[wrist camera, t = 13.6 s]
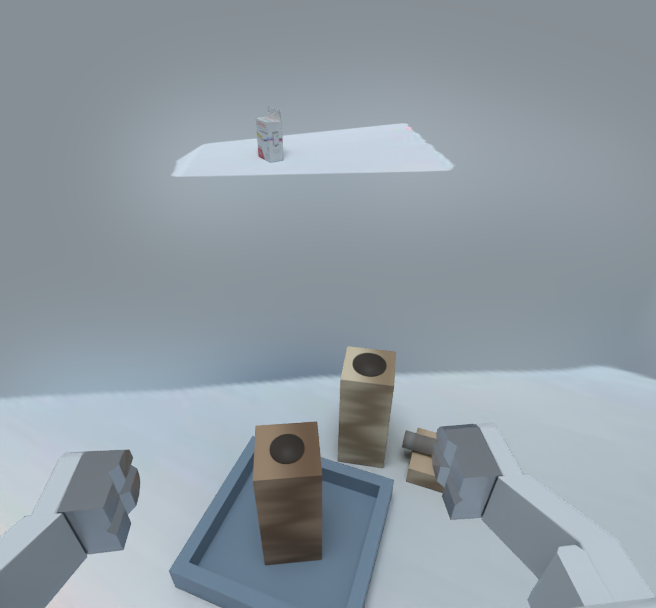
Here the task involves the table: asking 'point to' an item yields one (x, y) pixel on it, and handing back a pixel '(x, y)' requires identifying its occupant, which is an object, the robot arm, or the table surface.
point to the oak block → (365, 405)
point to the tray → (291, 578)
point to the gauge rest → (421, 458)
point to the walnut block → (288, 492)
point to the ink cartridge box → (270, 136)
